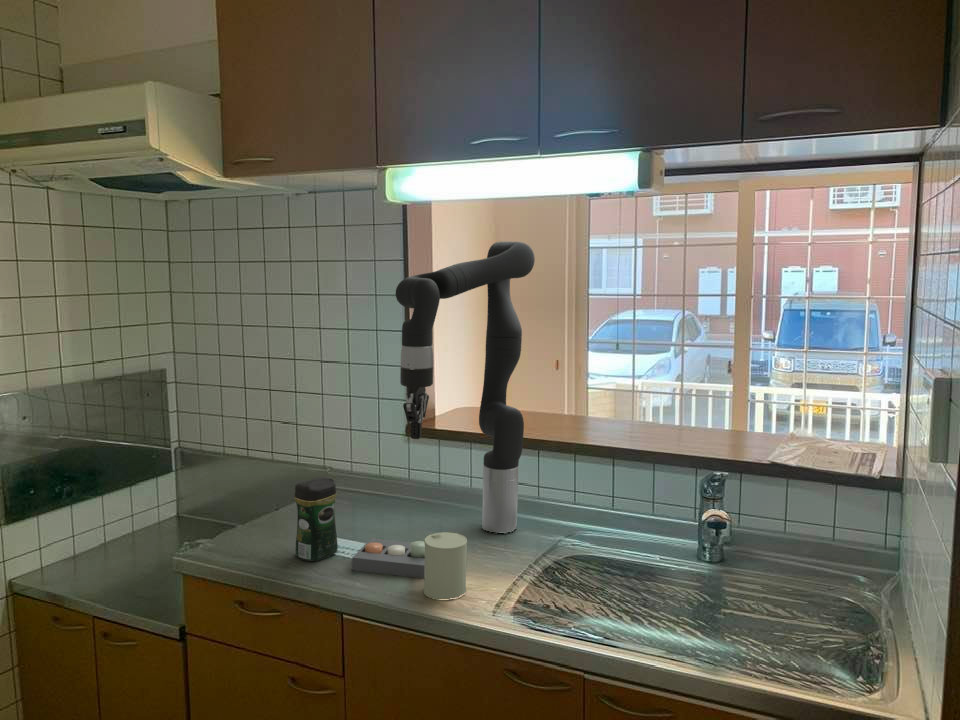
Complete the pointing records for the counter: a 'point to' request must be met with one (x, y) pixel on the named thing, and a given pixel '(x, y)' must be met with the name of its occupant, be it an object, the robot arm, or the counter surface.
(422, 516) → the counter surface
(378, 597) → the counter surface
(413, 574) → the button panel
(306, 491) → the coffee jar
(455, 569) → the can
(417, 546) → the sage button
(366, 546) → the terracotta button
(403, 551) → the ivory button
